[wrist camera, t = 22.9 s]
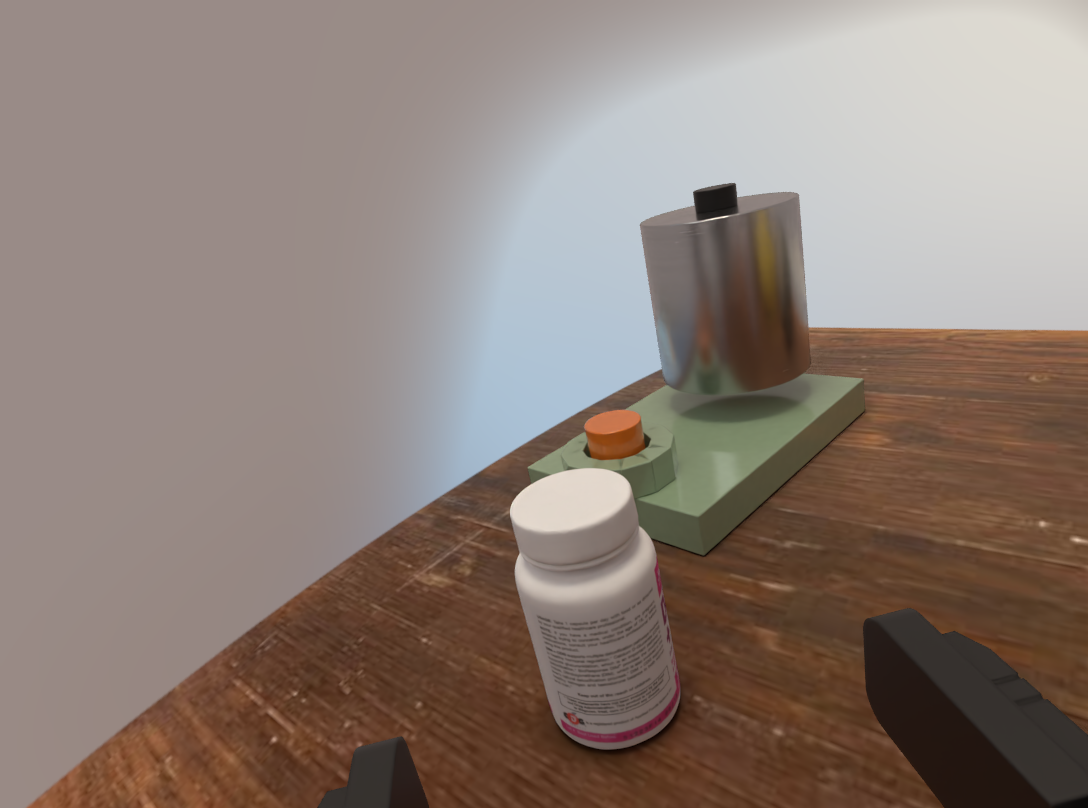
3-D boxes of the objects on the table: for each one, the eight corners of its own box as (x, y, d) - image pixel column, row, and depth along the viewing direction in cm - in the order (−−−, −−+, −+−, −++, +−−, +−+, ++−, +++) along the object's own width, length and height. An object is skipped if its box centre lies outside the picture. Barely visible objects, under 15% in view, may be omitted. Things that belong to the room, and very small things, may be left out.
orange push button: (621, 468, 33) (615, 436, 32) (578, 457, 35) (572, 427, 34) (657, 443, 34) (652, 413, 34) (614, 435, 37) (609, 406, 36)
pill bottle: (711, 700, 23) (676, 489, 20) (601, 782, 21) (544, 560, 18) (627, 632, 27) (588, 449, 24) (529, 695, 25) (472, 503, 22)
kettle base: (688, 570, 30) (676, 494, 28) (519, 509, 38) (503, 448, 37) (865, 410, 41) (862, 350, 40) (703, 391, 50) (697, 341, 49)
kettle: (763, 403, 36) (742, 191, 32) (635, 387, 42) (605, 210, 38) (836, 349, 41) (826, 163, 37) (713, 343, 47) (693, 184, 44)
